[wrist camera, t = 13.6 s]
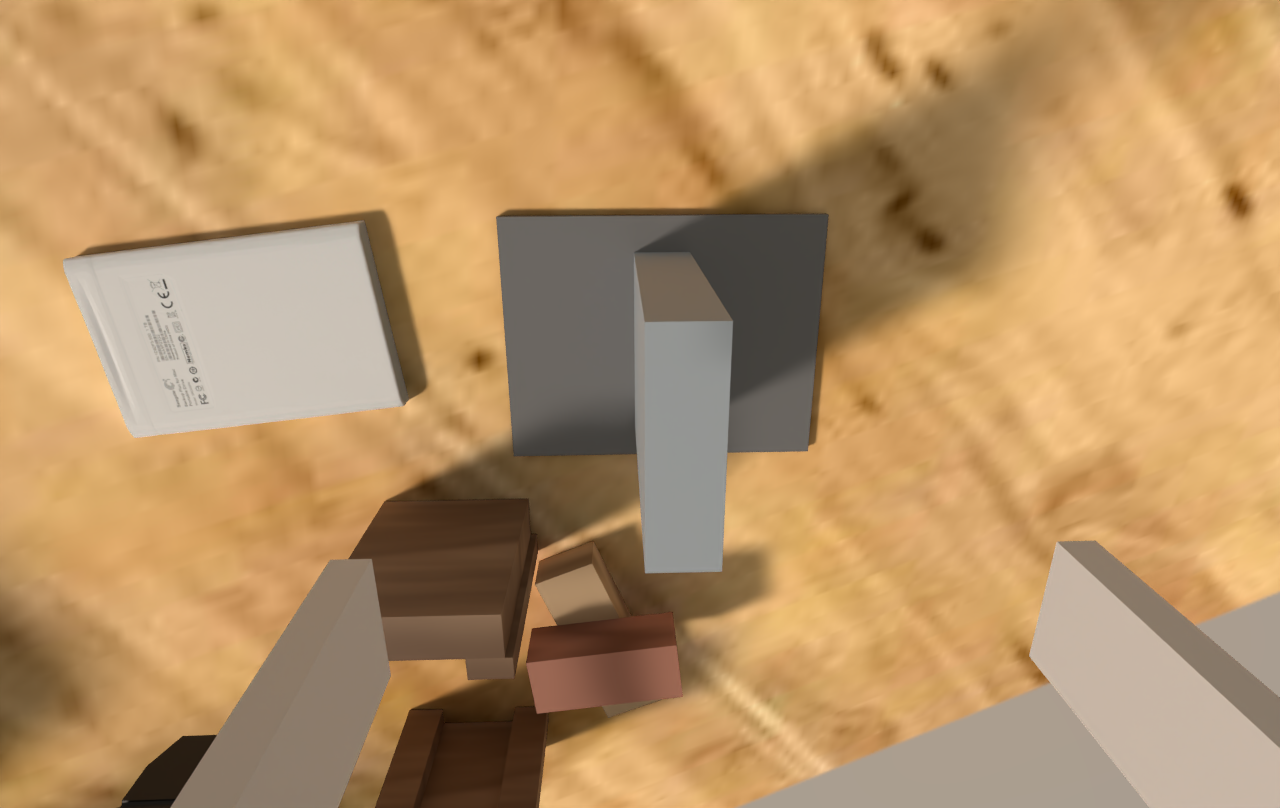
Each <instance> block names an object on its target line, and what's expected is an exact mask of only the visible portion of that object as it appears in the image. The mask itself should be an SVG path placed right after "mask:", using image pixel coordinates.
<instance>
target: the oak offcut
mask: <svg viewBox="0 0 1280 808" xmlns="http://www.w3.org/2000/svg"><path fill="white" fill-rule="evenodd" d="M535 586H536V587H537V589H538V591H539V593H540V595H541V596H542V598H543V600H544V602H545V604H546V606H547V607H548V609H549V611H550V613H551V615H552V616H553V618H554V620H555V622H556V624H557V625H566V624H574V623H583V622H591V621H600V620H608V619H617V618H625V617H632V616H631V615H630V613H629V611H628V609H627V607H626V605H625V603H624V601H623V599H622V597H621V595H620V593H619V591H618V589H617V587H616V585H615V583H614V581H613V579H612V577H611V575H610V573H609V571H608V569H607V567H606V565H605V563H604V561H603V559H602V557H601V555H600V553H599V551H598V549H597V547H596V545H595V543H594V541H592V542H589V543H587V544H584V545H581V546H579V547H576V548H573V549H571V550H568V551H565V552H563V553H560V554H557V555H555V556H552V557H549V558H547V559H544V560H541V561H539V566H538V571H537V576H536V582H535ZM659 700H661V699H659ZM659 700H650V701H641V702H633V703H624V704H616V705H607V706H602V707H603V709H604V711H605V713H606V715H607V716H608V718H609V717H612V716H615V715H618V714H621V713H624V712H627V711H630V710H633V709H636V708H639V707H642V706H645V705H647V704H650V703H653V702H656V701H659Z"/></svg>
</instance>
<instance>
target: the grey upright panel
mask: <svg viewBox="0 0 1280 808" xmlns="http://www.w3.org/2000/svg"><path fill="white" fill-rule="evenodd" d="M732 333H733V320H732V319H731V317H730V315H729V314H728V312H727V311H726V309H725V307H724V306H723V304H722V303H721V301H720V299H719V298H718V296H717V295H716V293H715V291H714V290H713V288H712V287H711V285H710V283H709V282H708V280H707V279H706V277H705V275H704V274H703V272H702V271H701V269H700V267H699V266H698V264H697V263H696V261H695V259H694V258H693V256H692V255H691V253H690V252H634V352H635V433H636V448H637V462H638V477H639V492H640V507H641V521H642V536H643V551H644V566H645V573H683V572H722V560H723V538H724V515H725V492H726V469H727V446H728V424H729V401H730V378H731V355H732Z"/></svg>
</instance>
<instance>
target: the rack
mask: <svg viewBox="0 0 1280 808" xmlns="http://www.w3.org/2000/svg"><path fill="white" fill-rule="evenodd" d="M537 554H538V544H537V534H531V529H530V514H529V499H492V500H438V501H385V502H384V503H383V505H382V506H381V508H380V509H379V511H378V513H377V514H376V516H375V517H374V519H373V521H372V522H371V524H370V525H369V527H368V529H367V530H366V532H365V533H364V535H363V537H362V538H361V540H360V541H359V543H358V545H357V546H356V548H355V549H354V551H353V553H352V554H351V556H350V557H349V559H372V564H373V570H374V576H375V582H376V588H377V595H378V601H379V607H380V613H381V619H382V625H383V631H384V637H385V643H386V650H387V656H388V661H403V660H443V659H466V668H467V677H468V680H479V679H515V673H516V668H517V662H518V657H519V652H520V646H521V641H522V635H523V630H524V624H525V619H526V614H527V608H528V603H529V597H530V592H531V586H532V581H533V576H534V570H535V565H536V559H537ZM548 722H549V718H548V713H539V714H537V711H536V707H515V711H514V717H513V721H505V722H469V723H444V716H443V709H430V710H410V711H409V714H408V716H407V719H406V722H405V725H404V728H403V730H402V733H401V736H400V739H399V742H398V745H397V747H396V750H395V753H394V756H393V759H392V761H391V764H390V767H389V770H388V773H387V775H386V778H385V781H384V784H383V787H382V790H381V792H380V795H379V798H378V801H377V804H376V806H375V808H539V801H540V792H541V783H542V775H543V766H544V757H545V748H546V739H547V730H548Z"/></svg>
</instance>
